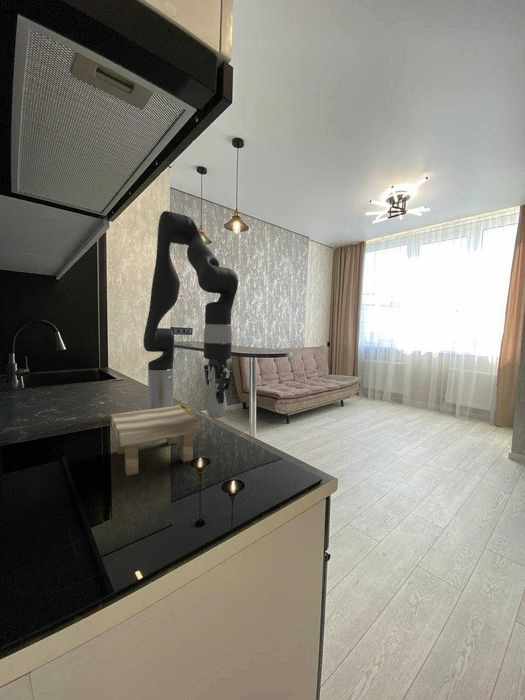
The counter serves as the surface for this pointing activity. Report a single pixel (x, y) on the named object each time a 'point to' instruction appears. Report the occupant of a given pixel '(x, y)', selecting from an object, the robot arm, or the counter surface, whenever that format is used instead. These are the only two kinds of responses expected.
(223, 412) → the salt shaker
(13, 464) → the counter surface
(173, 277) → the robot arm
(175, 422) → the footstool
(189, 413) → the apple
